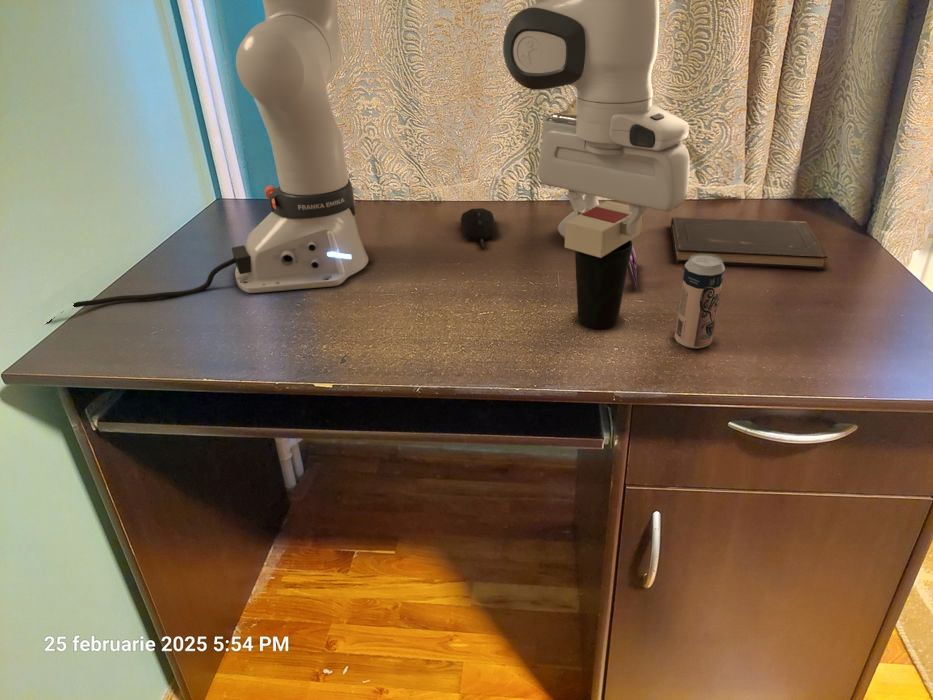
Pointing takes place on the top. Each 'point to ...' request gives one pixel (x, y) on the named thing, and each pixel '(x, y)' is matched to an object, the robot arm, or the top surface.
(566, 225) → the packet
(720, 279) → the beer can
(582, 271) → the cup
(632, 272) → the purple toy figure frame
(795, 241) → the hardcover book
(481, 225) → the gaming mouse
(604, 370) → the top surface
